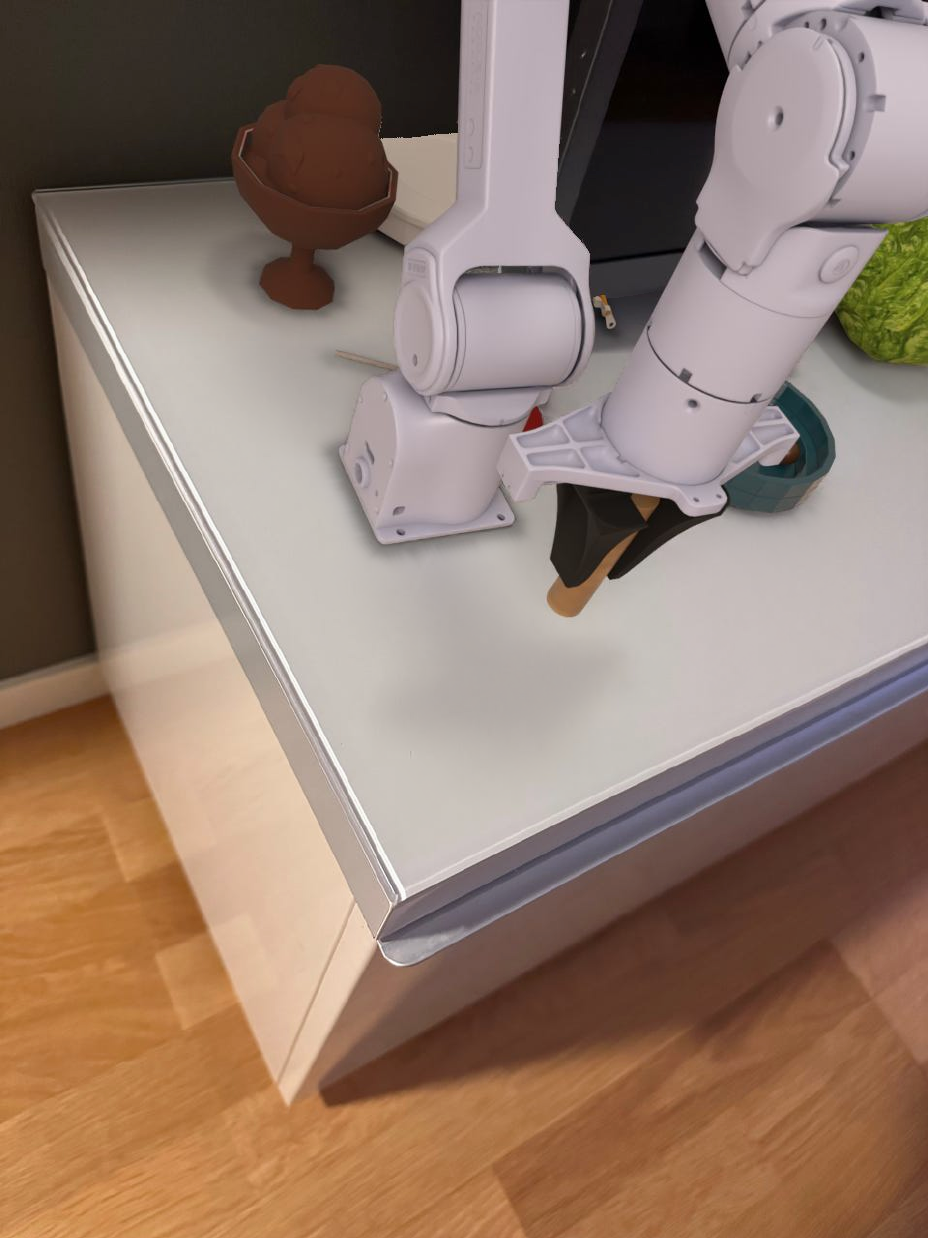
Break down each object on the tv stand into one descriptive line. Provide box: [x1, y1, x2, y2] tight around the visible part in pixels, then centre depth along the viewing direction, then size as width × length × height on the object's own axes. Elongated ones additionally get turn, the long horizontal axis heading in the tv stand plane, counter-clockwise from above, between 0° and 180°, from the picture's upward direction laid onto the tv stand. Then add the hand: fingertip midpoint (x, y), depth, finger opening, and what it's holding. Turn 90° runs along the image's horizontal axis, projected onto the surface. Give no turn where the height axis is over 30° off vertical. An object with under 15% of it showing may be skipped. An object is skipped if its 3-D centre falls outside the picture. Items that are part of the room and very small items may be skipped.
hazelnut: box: [779, 442, 800, 465], centre depth 72 cm, size 2×2×2 cm
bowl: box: [723, 379, 837, 514], centre depth 71 cm, size 13×13×4 cm
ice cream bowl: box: [230, 63, 399, 311], centre depth 64 cm, size 11×11×15 cm
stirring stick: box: [546, 493, 660, 618], centre depth 46 cm, size 2×2×9 cm
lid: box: [377, 133, 458, 247], centre depth 81 cm, size 17×20×3 cm
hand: (584, 567), depth 48 cm, fingers closed on stirring stick, 2 cm apart
